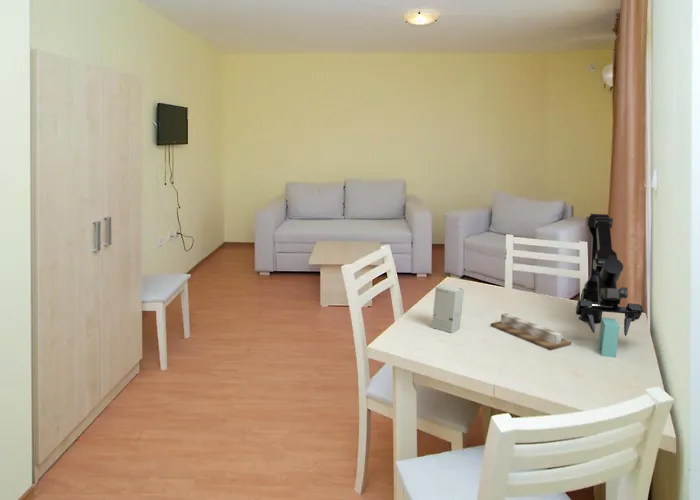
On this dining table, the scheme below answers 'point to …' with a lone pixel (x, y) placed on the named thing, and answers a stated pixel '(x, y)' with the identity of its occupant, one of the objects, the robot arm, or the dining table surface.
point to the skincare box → (447, 308)
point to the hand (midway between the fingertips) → (609, 333)
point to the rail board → (530, 337)
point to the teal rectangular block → (608, 337)
